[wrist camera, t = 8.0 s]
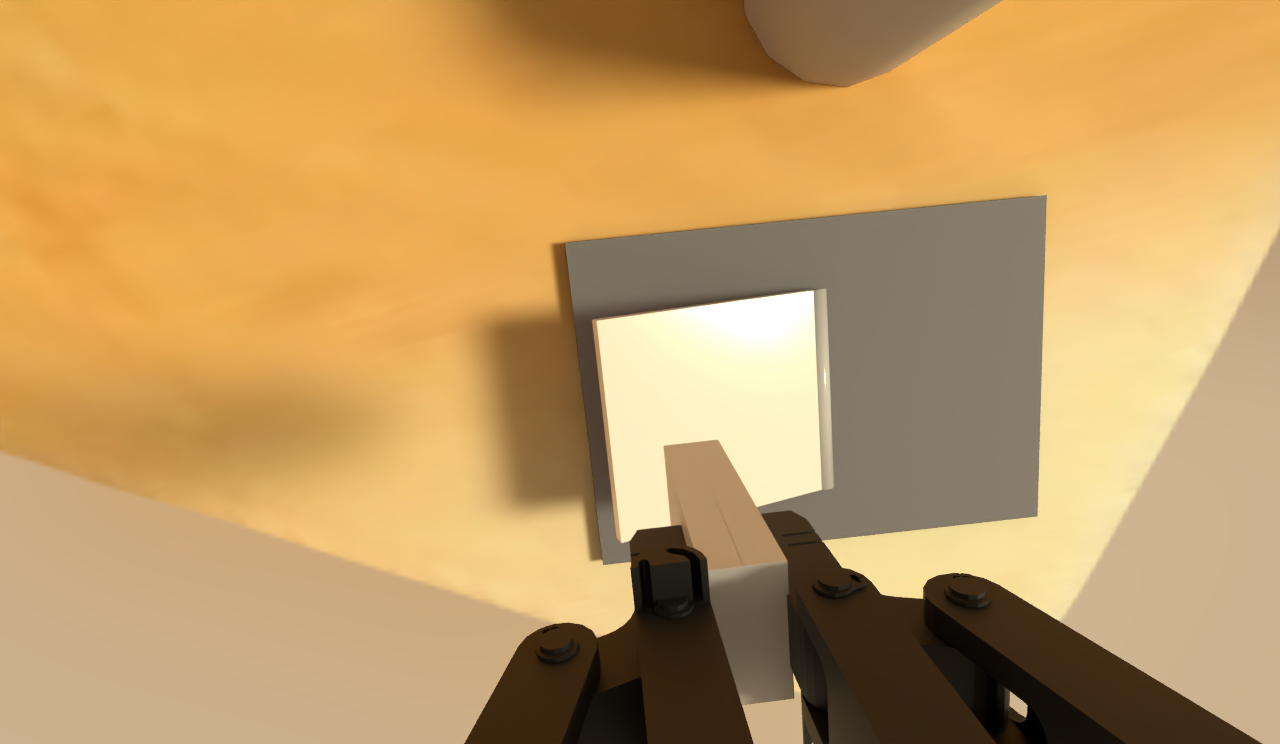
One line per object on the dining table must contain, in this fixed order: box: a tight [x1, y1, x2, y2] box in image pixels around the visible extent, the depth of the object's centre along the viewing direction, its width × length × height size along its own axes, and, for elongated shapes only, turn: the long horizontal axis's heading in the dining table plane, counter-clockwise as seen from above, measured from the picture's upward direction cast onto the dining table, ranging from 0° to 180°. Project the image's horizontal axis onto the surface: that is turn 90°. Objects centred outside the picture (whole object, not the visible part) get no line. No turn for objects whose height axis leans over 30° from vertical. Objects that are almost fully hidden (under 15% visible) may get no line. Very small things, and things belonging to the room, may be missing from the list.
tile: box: [592, 288, 834, 543], centre depth 27 cm, size 10×9×1 cm
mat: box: [565, 195, 1047, 565], centre depth 29 cm, size 15×21×1 cm
